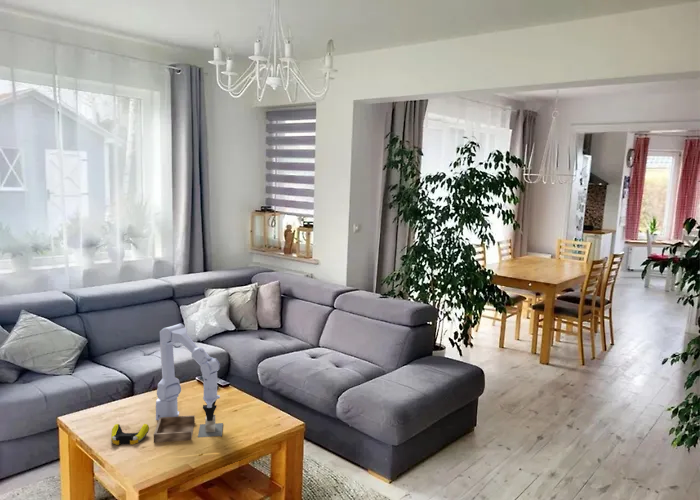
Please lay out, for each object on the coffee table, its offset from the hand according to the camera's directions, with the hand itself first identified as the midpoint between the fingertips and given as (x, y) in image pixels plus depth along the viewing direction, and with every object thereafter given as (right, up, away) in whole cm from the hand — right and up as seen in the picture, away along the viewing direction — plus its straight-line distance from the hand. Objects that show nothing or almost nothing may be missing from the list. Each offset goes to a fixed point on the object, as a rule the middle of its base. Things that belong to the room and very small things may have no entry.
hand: (210, 416), depth 231 cm
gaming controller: (-32, -7, -9) cm, 34 cm away
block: (0, -6, +1) cm, 6 cm away
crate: (-14, -7, -2) cm, 16 cm away
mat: (0, -7, +1) cm, 7 cm away
